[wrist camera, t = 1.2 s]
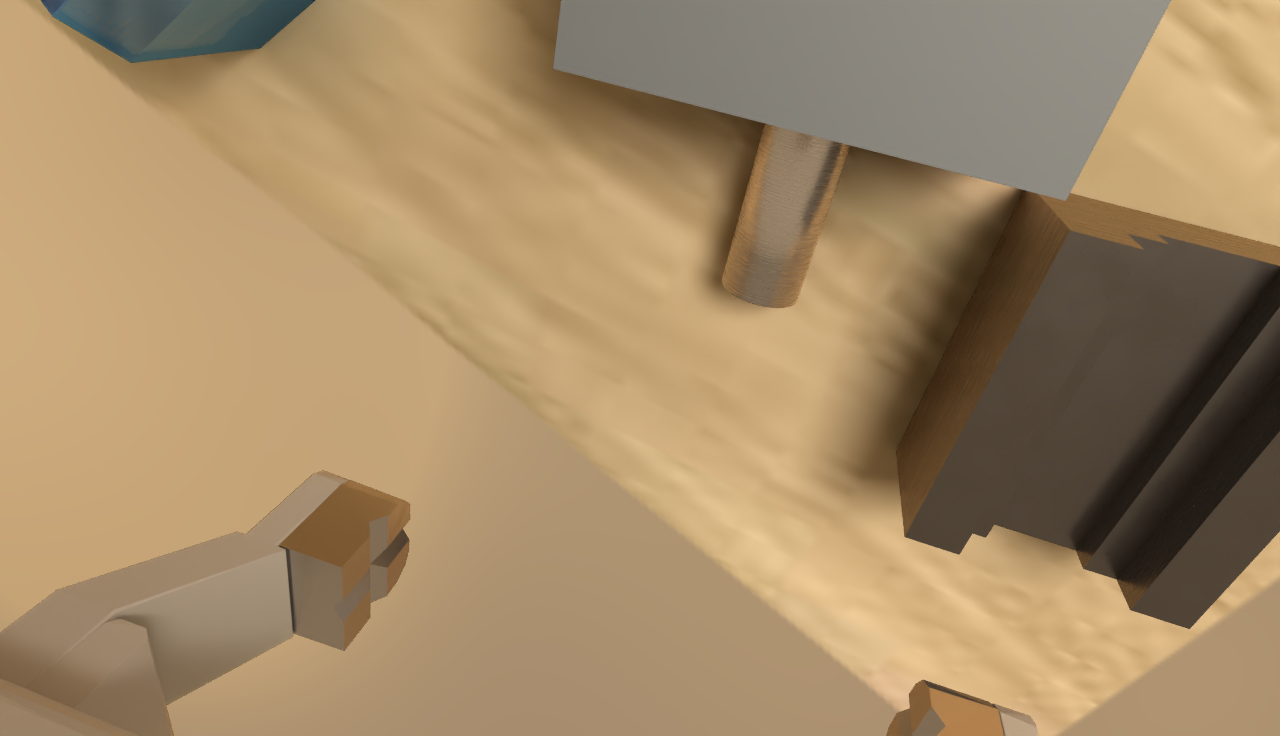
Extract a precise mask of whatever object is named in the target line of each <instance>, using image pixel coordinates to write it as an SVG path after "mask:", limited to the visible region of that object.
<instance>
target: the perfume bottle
mask: <svg viewBox="0 0 1280 736" xmlns="http://www.w3.org/2000/svg"><path fill="white" fill-rule="evenodd" d="M314 1H315V0H41V2H42V3H43V4H44V6H45V7H46V8H47V10H48V11H49V12H50V13H51V15H52V16H53V17H54V18H56V19H58V20H59V21H61V22H63V23H64V24H66V25H68V26H70V27H71V28H73V29H75V30H76V31H78V32H80V33H81V34H83V35H85V36H87V37H88V38H90V39H92V40H93V41H95V42H97V43H98V44H100V45H102V46H104V47H105V48H107V49H109V50H110V51H112V52H114V53H115V54H117V55H119V56H121V57H122V58H124V59H126V60H127V61H129V62H131V63H135V62H144V61H152V60H161V59H170V58H179V57H188V56H197V55H205V54H214V53H223V52H232V51H241V50H250V49H259V48H261V47H262V46H263V45H264V44H266V43H267V42H268V41H269V40H270V39H271V38H273V37H274V36H275V35H276V34H277V33H278V32H279V31H281V30H282V29H283V28H284V27H285V26H286V25H287V24H289V23H290V22H291V21H292V20H293V19H294V18H296V17H297V16H298V15H299V14H300V13H301V12H302V11H304V10H305V9H306V8H307V7H308V6H309V5H310V4H312V3H313V2H314Z"/></svg>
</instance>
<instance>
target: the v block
mask: <svg viewBox="0 0 1280 736" xmlns="http://www.w3.org/2000/svg"><path fill="white" fill-rule="evenodd" d="M896 455H897V465H898V475H899V486H900V496H901V506H902V516H903V526H904V536H905V537H906V538H909V539H913V540H916V541H919V542H922V543H925V544H928V545H931V546H934V547H937V548H940V549H943V550H947V551H950V552H953V553H956V554H960V553H961V551H962V549H963V548H964V546H965V545H966V543H967V541H968V540H969V538H970V536H971V535H972V533H973V534H976V535H979V536H983V537H987V535H988V533H989V532H990V530H991V529H992V527H993V525H994V524H995V525H998V526H1001V527H1004V528H1007V529H1010V530H1014V531H1017V532H1020V533H1023V534H1026V535H1029V536H1033V537H1036V538H1039V539H1042V540H1045V541H1048V542H1052V543H1055V544H1058V545H1061V546H1064V547H1067V548H1070V549H1074V550H1076V551H1077V554H1078V557H1079V559H1080V562H1081V564H1082V567H1083V569H1086V570H1089V571H1092V572H1095V573H1099V574H1102V575H1105V576H1108V577H1111V578H1114V579H1117V581H1118V584H1119V586H1120V588H1121V590H1122V593H1123V595H1124V597H1125V599H1126V602H1127V604H1128V606H1129V608H1130V610H1132V611H1135V612H1138V613H1141V614H1144V615H1148V616H1151V617H1154V618H1157V619H1160V620H1163V621H1166V622H1169V623H1172V624H1175V625H1178V626H1182V627H1185V628H1188V629H1190V628H1191V627H1192V626H1193V625H1194V624H1195V623H1196V621H1197V620H1198V619H1199V618H1200V617H1201V616H1202V615H1203V614H1204V613H1205V612H1206V611H1207V610H1208V608H1209V607H1210V606H1211V605H1212V604H1213V603H1214V602H1215V601H1216V600H1217V599H1218V598H1219V597H1220V595H1221V594H1222V593H1223V592H1224V591H1225V590H1226V589H1227V588H1228V587H1229V586H1230V585H1231V584H1232V582H1233V581H1234V580H1235V579H1236V578H1237V577H1238V576H1239V575H1240V574H1241V573H1242V572H1243V571H1244V569H1245V568H1246V567H1247V566H1248V565H1249V564H1250V563H1251V562H1252V561H1253V560H1254V559H1255V558H1256V556H1257V555H1258V554H1259V553H1260V552H1261V551H1262V550H1263V549H1264V548H1265V547H1266V546H1267V545H1268V543H1269V542H1270V541H1271V540H1272V539H1273V538H1274V537H1275V536H1276V535H1277V534H1278V533H1279V532H1280V247H1278V246H1274V245H1270V244H1266V243H1262V242H1258V241H1254V240H1250V239H1247V238H1243V237H1239V236H1235V235H1231V234H1227V233H1223V232H1219V231H1215V230H1211V229H1207V228H1204V227H1200V226H1196V225H1192V224H1188V223H1184V222H1180V221H1176V220H1172V219H1168V218H1164V217H1161V216H1157V215H1153V214H1149V213H1145V212H1141V211H1137V210H1133V209H1129V208H1125V207H1121V206H1118V205H1114V204H1110V203H1106V202H1102V201H1098V200H1094V199H1090V198H1086V197H1082V196H1078V195H1075V194H1071V193H1070V194H1069V196H1068V198H1067V199H1066V201H1064V200H1061V199H1057V198H1053V197H1049V196H1045V195H1041V194H1037V193H1033V192H1029V191H1026V190H1024V192H1023V194H1022V196H1021V198H1020V200H1019V202H1018V204H1017V206H1016V208H1015V210H1014V212H1013V214H1012V216H1011V218H1010V220H1009V222H1008V224H1007V226H1006V228H1005V231H1004V233H1003V235H1002V237H1001V239H1000V241H999V243H998V245H997V247H996V249H995V251H994V253H993V255H992V257H991V259H990V261H989V263H988V265H987V267H986V269H985V271H984V273H983V275H982V277H981V280H980V282H979V284H978V286H977V288H976V290H975V292H974V294H973V296H972V298H971V300H970V302H969V304H968V306H967V308H966V310H965V312H964V314H963V316H962V318H961V320H960V322H959V324H958V327H957V329H956V331H955V333H954V335H953V337H952V339H951V341H950V343H949V345H948V347H947V349H946V351H945V353H944V355H943V357H942V359H941V361H940V363H939V365H938V367H937V369H936V371H935V374H934V376H933V378H932V380H931V382H930V384H929V386H928V388H927V390H926V392H925V394H924V396H923V398H922V400H921V402H920V404H919V406H918V408H917V410H916V412H915V414H914V416H913V418H912V421H911V423H910V425H909V427H908V429H907V431H906V433H905V435H904V437H903V439H902V441H901V443H900V445H899V447H898V449H897V451H896Z"/></svg>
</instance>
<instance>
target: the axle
mask: <svg viewBox="0 0 1280 736" xmlns="http://www.w3.org/2000/svg"><path fill="white" fill-rule="evenodd" d="M849 148H850V145H847V144H843V143H839V142H835V141H831V140H827V139H823V138H820V137H816V136H812V135H808V134H804V133H800V132H796V131H792V130H788V129H785V128H781V127H777V126H773V125H769V124H765V125H764V129H763V132H762V136H761V140H760V143H759V147H758V150H757V154H756V158H755V161H754V165H753V168H752V172H751V176H750V179H749V183H748V186H747V190H746V194H745V197H744V201H743V205H742V208H741V212H740V215H739V219H738V223H737V226H736V230H735V233H734V237H733V241H732V244H731V248H730V251H729V255H728V259H727V262H726V266H725V270H724V273H723V277H722V284H723V286H724V287H725V289H726V290H727V291H729V292H730V293H731V294H733V295H734V296H736V297H738V298H740V299H742V300H744V301H747V302H749V303H752V304H756V305H760V306H764V307H771V308H785V307H790V306H792V305H794V304H795V303H796V302H797V299H798V296H799V293H800V290H801V287H802V285H803V282H804V279H805V276H806V273H807V270H808V267H809V264H810V261H811V258H812V255H813V253H814V250H815V247H816V244H817V241H818V238H819V235H820V232H821V229H822V226H823V224H824V221H825V218H826V215H827V212H828V209H829V206H830V203H831V200H832V197H833V195H834V192H835V189H836V186H837V183H838V180H839V177H840V174H841V171H842V168H843V165H844V163H845V160H846V157H847V154H848V151H849Z"/></svg>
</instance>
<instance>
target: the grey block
mask: <svg viewBox="0 0 1280 736" xmlns="http://www.w3.org/2000/svg"><path fill="white" fill-rule="evenodd" d="M1170 1H1171V0H561V6H560V14H559V23H558V31H557V39H556V47H555V56H554V64H553V69H555V70H559V71H563V72H567V73H571V74H575V75H578V76H582V77H586V78H590V79H594V80H598V81H602V82H606V83H610V84H613V85H617V86H621V87H625V88H629V89H633V90H637V91H641V92H645V93H648V94H652V95H656V96H660V97H664V98H668V99H672V100H676V101H680V102H683V103H687V104H691V105H695V106H699V107H703V108H707V109H711V110H715V111H718V112H722V113H726V114H730V115H734V116H738V117H742V118H746V119H750V120H753V121H757V122H761V123H765V124H769V125H773V126H777V127H781V128H785V129H788V130H792V131H796V132H800V133H804V134H808V135H812V136H816V137H820V138H823V139H827V140H831V141H835V142H839V143H843V144H847V145H851V146H855V147H858V148H862V149H866V150H870V151H874V152H878V153H882V154H886V155H890V156H893V157H897V158H901V159H905V160H909V161H913V162H917V163H921V164H925V165H928V166H932V167H936V168H940V169H944V170H948V171H952V172H956V173H959V174H963V175H967V176H971V177H975V178H979V179H983V180H987V181H991V182H994V183H998V184H1002V185H1006V186H1010V187H1014V188H1018V189H1022V190H1026V191H1029V192H1033V193H1037V194H1041V195H1045V196H1049V197H1053V198H1057V199H1061V200H1064V201H1066V199H1067V198H1068V196H1069V194H1070V192H1071V190H1072V188H1073V186H1074V184H1075V182H1076V180H1077V179H1078V177H1079V175H1080V173H1081V171H1082V169H1083V167H1084V165H1085V163H1086V161H1087V159H1088V158H1089V156H1090V154H1091V152H1092V150H1093V148H1094V146H1095V144H1096V142H1097V140H1098V139H1099V137H1100V135H1101V133H1102V131H1103V129H1104V127H1105V125H1106V123H1107V121H1108V120H1109V118H1110V116H1111V114H1112V112H1113V110H1114V108H1115V106H1116V104H1117V102H1118V100H1119V99H1120V97H1121V95H1122V93H1123V91H1124V89H1125V87H1126V85H1127V83H1128V81H1129V80H1130V78H1131V76H1132V74H1133V72H1134V70H1135V68H1136V66H1137V64H1138V62H1139V61H1140V59H1141V57H1142V55H1143V53H1144V51H1145V49H1146V47H1147V45H1148V43H1149V41H1150V40H1151V38H1152V36H1153V34H1154V32H1155V30H1156V28H1157V26H1158V24H1159V22H1160V21H1161V19H1162V17H1163V15H1164V13H1165V11H1166V9H1167V7H1168V5H1169V3H1170Z"/></svg>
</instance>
